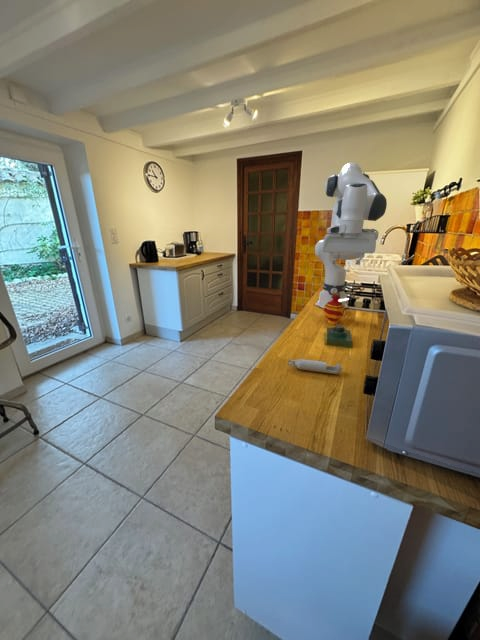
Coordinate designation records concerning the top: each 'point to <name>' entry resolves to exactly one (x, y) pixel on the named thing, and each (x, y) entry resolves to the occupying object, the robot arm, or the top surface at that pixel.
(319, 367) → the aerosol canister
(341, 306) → the potion bottle
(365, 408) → the top surface
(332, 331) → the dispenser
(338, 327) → the pump
